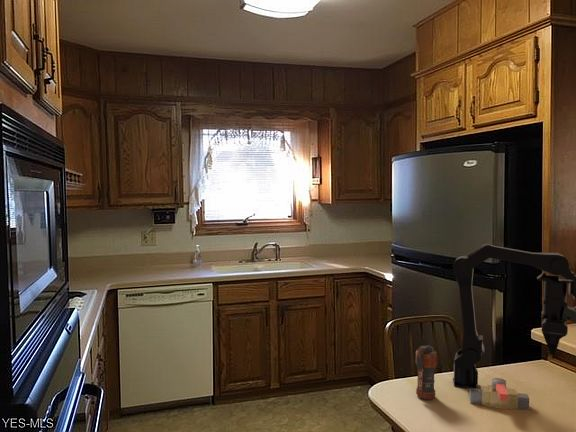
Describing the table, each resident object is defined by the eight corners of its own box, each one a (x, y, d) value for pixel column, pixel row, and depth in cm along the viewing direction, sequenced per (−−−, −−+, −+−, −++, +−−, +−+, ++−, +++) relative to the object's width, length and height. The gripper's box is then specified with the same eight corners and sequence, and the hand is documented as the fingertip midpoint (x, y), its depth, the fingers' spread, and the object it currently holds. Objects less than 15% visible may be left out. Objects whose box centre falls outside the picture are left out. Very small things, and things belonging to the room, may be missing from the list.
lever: (491, 385, 137) (491, 377, 137) (504, 386, 136) (504, 378, 136) (496, 400, 127) (496, 392, 127) (511, 402, 126) (511, 393, 126)
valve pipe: (470, 404, 135) (471, 389, 134) (469, 397, 140) (469, 382, 139) (529, 411, 131) (530, 395, 130) (526, 403, 136) (526, 388, 135)
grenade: (408, 398, 139) (409, 347, 138) (421, 390, 144) (422, 341, 144) (427, 404, 135) (428, 351, 134) (440, 396, 140) (440, 345, 140)
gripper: (590, 306, 127) (587, 365, 128) (584, 294, 144) (582, 346, 144) (543, 301, 132) (540, 357, 133) (542, 290, 149) (540, 340, 149)
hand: (552, 350), depth 140 cm, fingers open, 9 cm apart
